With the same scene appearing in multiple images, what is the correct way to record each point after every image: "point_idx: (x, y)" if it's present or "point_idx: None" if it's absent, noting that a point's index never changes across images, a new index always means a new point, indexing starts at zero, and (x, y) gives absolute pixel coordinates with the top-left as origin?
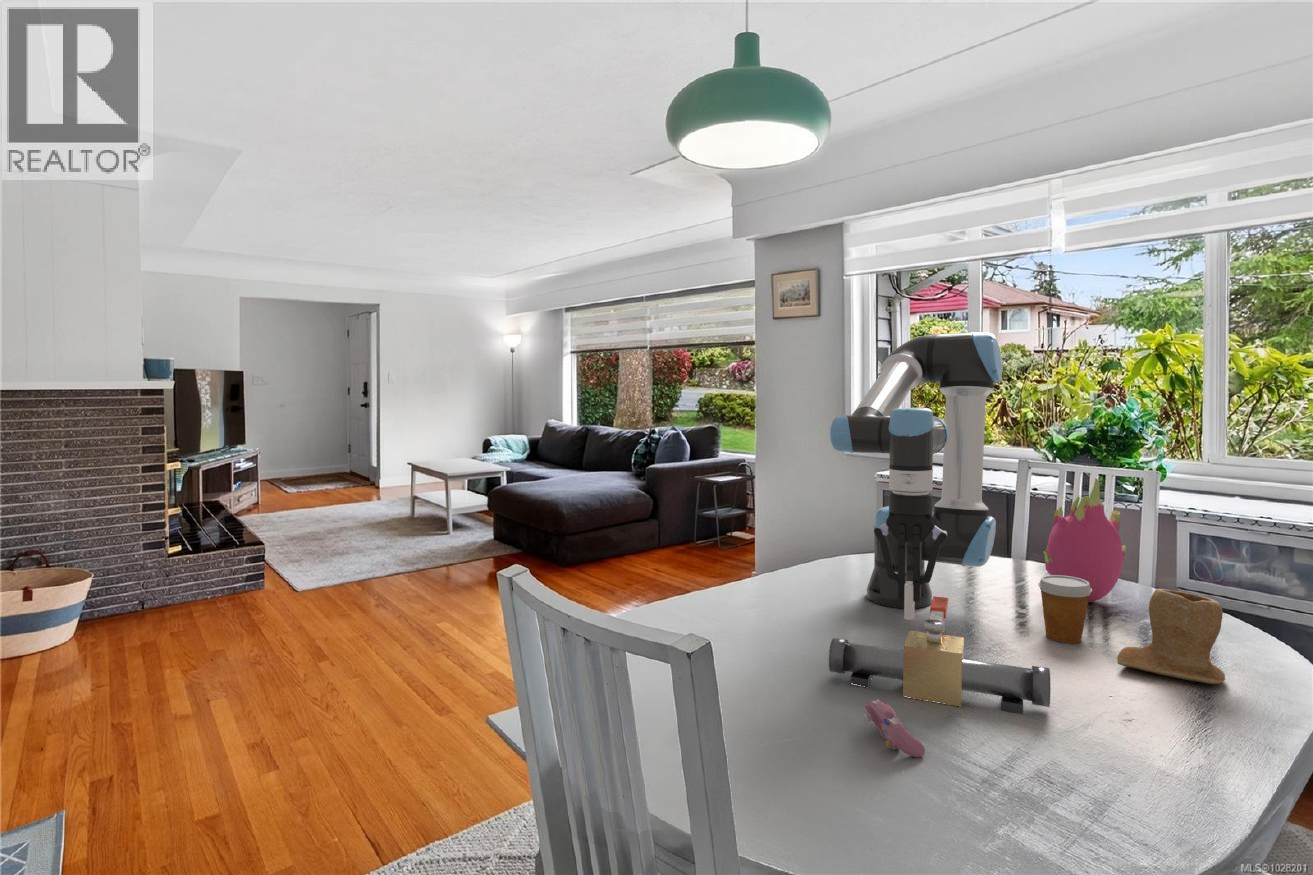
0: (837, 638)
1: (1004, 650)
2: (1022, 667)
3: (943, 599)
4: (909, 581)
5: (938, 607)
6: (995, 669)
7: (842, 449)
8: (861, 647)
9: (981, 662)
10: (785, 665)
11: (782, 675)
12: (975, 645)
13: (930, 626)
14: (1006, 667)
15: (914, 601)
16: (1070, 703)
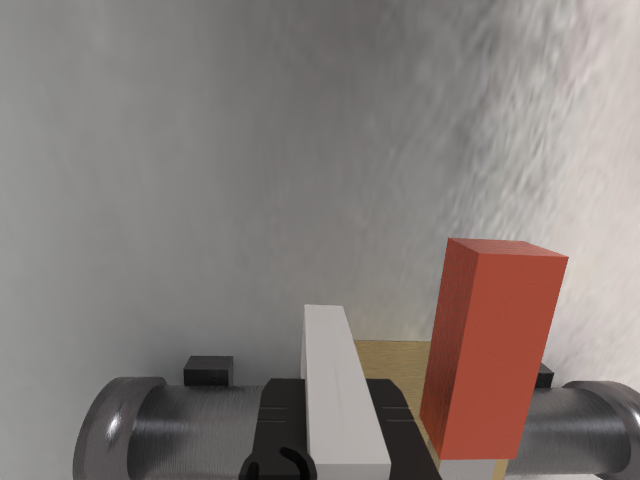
0: (88, 469)
1: (587, 26)
2: (610, 453)
3: (532, 301)
4: (341, 473)
5: (481, 450)
6: (538, 473)
7: None
8: (182, 477)
9: (515, 464)
10: (4, 366)
11: (26, 421)
12: (509, 5)
13: None
14: (570, 467)
15: (354, 348)
16: (628, 336)
